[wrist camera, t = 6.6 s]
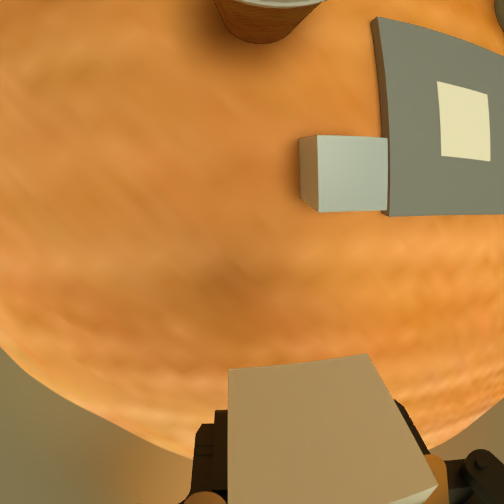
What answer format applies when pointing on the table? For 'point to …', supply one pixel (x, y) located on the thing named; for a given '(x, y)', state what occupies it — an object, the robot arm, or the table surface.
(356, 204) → the blue grey block
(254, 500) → the cream block
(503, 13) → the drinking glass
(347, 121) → the table surface
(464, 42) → the board
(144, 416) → the table surface
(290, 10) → the disposable coffee cup
